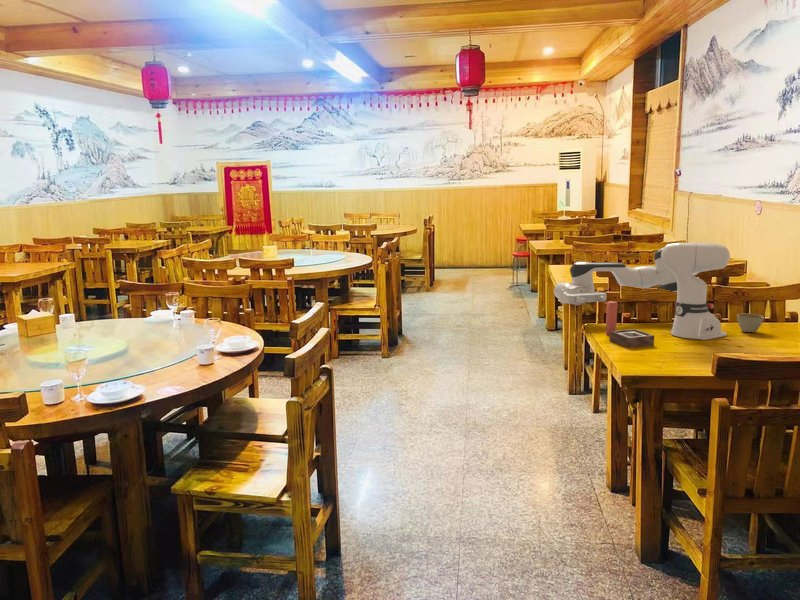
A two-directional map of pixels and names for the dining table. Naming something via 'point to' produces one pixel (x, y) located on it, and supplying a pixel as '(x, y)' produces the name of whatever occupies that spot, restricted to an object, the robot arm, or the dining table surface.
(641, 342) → the box
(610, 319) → the peg
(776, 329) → the dining table surface
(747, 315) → the flower pot
